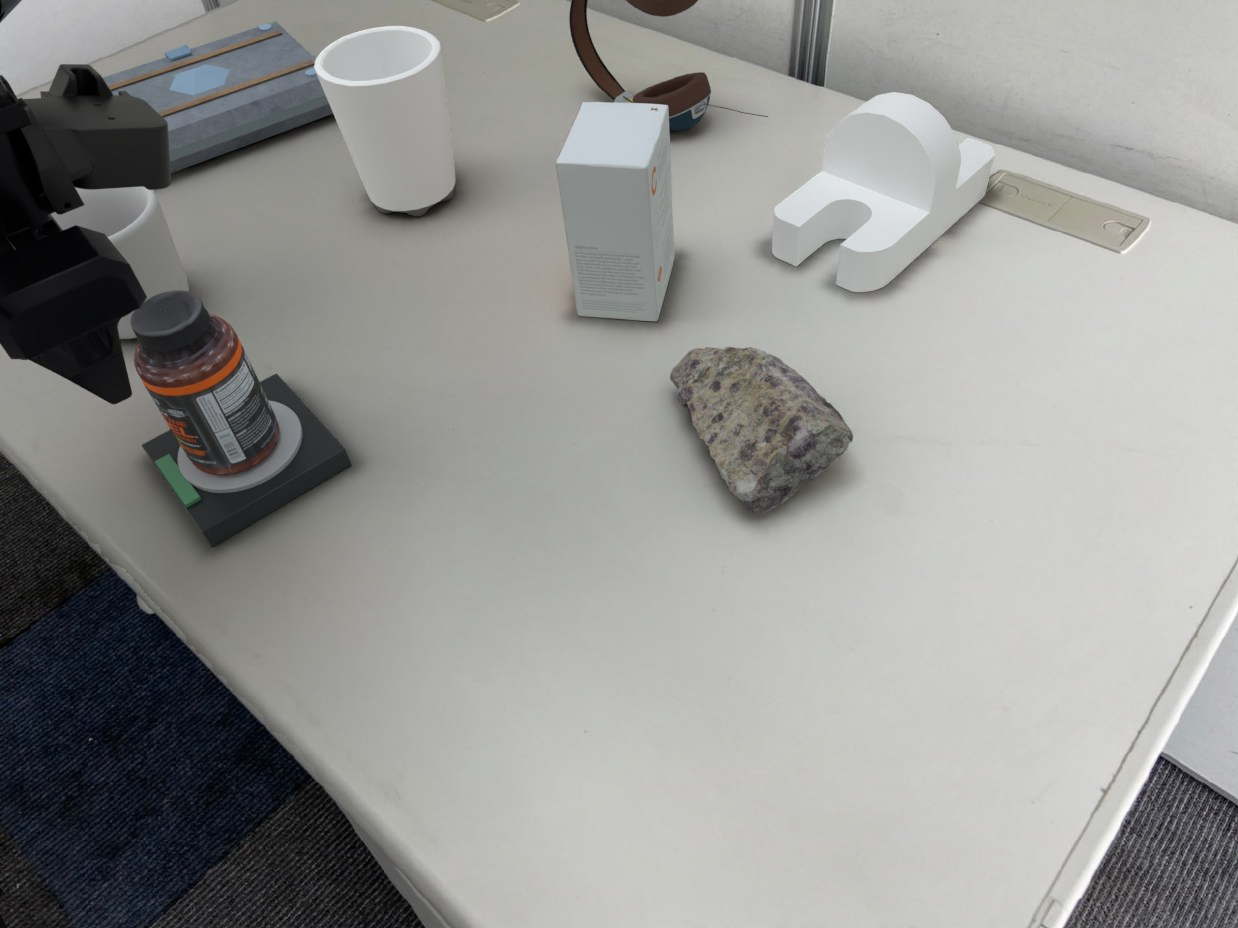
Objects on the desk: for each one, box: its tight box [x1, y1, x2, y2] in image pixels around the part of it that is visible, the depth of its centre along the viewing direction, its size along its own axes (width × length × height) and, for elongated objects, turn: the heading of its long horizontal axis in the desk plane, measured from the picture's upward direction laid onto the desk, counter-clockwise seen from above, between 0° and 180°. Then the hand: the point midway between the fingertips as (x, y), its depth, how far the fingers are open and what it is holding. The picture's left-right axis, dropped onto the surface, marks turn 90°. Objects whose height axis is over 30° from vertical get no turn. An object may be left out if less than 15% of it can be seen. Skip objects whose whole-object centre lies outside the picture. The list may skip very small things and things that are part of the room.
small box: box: [554, 101, 676, 322], centre depth 70 cm, size 8×6×13 cm
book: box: [102, 21, 334, 174], centre depth 95 cm, size 21×16×5 cm
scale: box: [141, 373, 352, 548], centre depth 64 cm, size 10×10×2 cm
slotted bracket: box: [771, 91, 996, 293], centre depth 74 cm, size 18×10×10 cm, turn 137°
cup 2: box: [314, 25, 456, 218], centre depth 81 cm, size 10×10×13 cm
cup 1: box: [51, 187, 190, 340], centre depth 74 cm, size 13×9×9 cm
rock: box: [669, 346, 854, 515], centre depth 62 cm, size 13×6×10 cm
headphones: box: [568, 0, 769, 131], centre depth 85 cm, size 6×15×22 cm
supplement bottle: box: [130, 290, 279, 475], centre depth 59 cm, size 6×6×11 cm
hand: (93, 357), depth 54 cm, fingers open, 9 cm apart
